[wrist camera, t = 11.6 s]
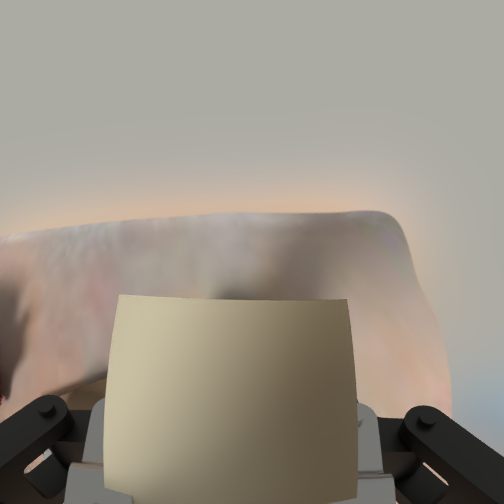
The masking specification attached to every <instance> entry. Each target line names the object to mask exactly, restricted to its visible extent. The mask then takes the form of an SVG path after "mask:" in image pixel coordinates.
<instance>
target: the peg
mask: <svg viewBox="0 0 504 504" xmlns="http://www.w3.org/2000/svg"><path fill="white" fill-rule="evenodd" d="M103 461H104V486H105V488H107V489H110V490H113V491H117V492H120V493H124V494H128V495H131V496H132V499H133V503H134V504H329V503H334V502H340V501H345V500H349V499H354V498H357V487H358V413H357V393H356V378H355V365H354V354H353V344H352V335H351V326H350V318H349V310H348V303H347V299H341V300H221V299H191V298H169V297H151V296H135V295H121V294H120V295H119V301H118V306H117V311H116V317H115V323H114V329H113V335H112V342H111V349H110V356H109V365H108V374H107V384H106V396H105V411H104V438H103Z"/></svg>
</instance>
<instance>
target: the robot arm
mask: <svg viewBox="0 0 504 504" xmlns="http://www.w3.org/2000/svg"><path fill="white" fill-rule="evenodd" d="M104 411H105V398H103V399H101V400H99V401H98V402H97V403H96V404H95V405H94V407H93V409H92V410H69V408H68V406H67V404H66V402H65V401H64V400H63V399H62V398H60V397H58V396H55V395H45V396H41V397H39V398H37V399H35V400H34V401H32V402H31V403H29V404H28V405H26V406H25V407H23V408H22V409H21V410H19V411H18V412H16V413H15V414H13V415H12V416H10V417H9V418H7V419H6V420H5V421H3V422H2V423H0V504H63V503H64V504H134V503H133V499H132V496H131V495H128V494H124V493H120V492H117V491H113V490H110V489H107V488H105V486H104V461H103V438H104ZM357 413H358V487H357V498H354V499H349V500H345V501H340V502H334V503H329V504H396V501H397V502H398V503H399V504H504V457H503V456H501V455H500V454H499V453H497V452H496V451H494V450H493V449H492V448H490V447H489V446H487V445H486V444H485V443H483V442H482V441H481V440H479V439H478V438H476V437H475V436H474V435H472V434H471V433H469V432H468V431H467V430H465V429H464V428H463V427H461V426H460V425H459V424H457V423H456V422H455V421H453V420H452V419H450V418H449V417H448V416H446V415H445V414H444V413H442V412H441V411H440V410H438V409H436V408H434V407H431V406H424V405H423V406H416V407H413V408H412V409H410V410H409V411H408V412H407V413H406V415H405V417H404V419H399V418H381V417H377V416H376V414H375V412H374V411H373V410H372V409H371V408H369V407H368V406H366V405H364V404H361V403H359V402H358V400H357ZM47 449H49V450H50V451H51V453H52V454H51V455H50V456H48V457H47V458H46V459H45V460H44V461H42V462H41V463H40V464H39V465H38V466H36V467H35V468H34V469H33V470H32V471H30V472H29V473H26V474H24V469H25V468H26V467H27V466H28V465H29V464H30V463H31V462H33V461H34V460H35V459H36V458H38V457H39V456H40V455H41V454H43V453H44V452H45V451H46V450H47ZM424 462H425V463H426V464H427V465H428V466H429V467H431V468H432V469H433V470H434V471H435V472H436V473H438V474H439V475H440V476H441V477H442V478H443V479H444V480H446V481H447V483H448V485H449V486H448V485H446V484H445V483H444V482H443V481H441V480H440V479H439V478H438V477H437V476H436V475H434V474H433V473H432V472H431V471H430V470H429V469H428V468H427V467H425V466H424V465H423V463H424Z"/></svg>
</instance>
